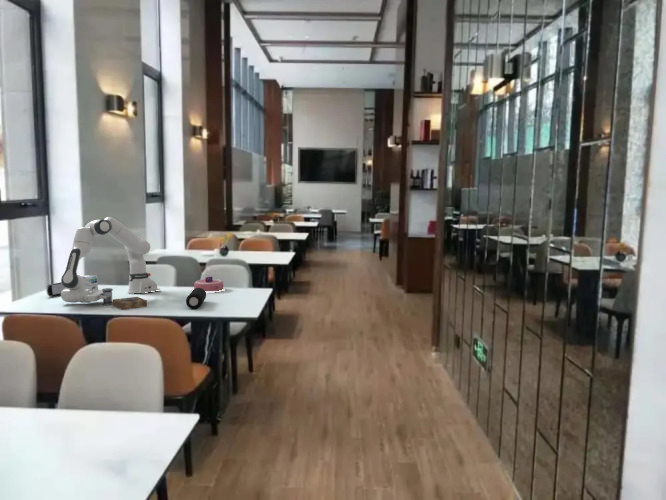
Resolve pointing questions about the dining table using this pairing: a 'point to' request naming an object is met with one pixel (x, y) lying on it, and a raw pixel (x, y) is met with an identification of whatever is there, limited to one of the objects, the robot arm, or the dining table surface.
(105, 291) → the cylinder
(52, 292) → the gaming console
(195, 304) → the portable speaker
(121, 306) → the stand
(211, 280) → the cake
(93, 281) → the light bulb box
